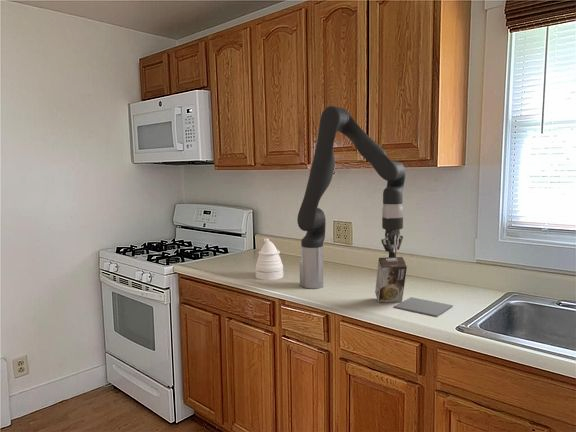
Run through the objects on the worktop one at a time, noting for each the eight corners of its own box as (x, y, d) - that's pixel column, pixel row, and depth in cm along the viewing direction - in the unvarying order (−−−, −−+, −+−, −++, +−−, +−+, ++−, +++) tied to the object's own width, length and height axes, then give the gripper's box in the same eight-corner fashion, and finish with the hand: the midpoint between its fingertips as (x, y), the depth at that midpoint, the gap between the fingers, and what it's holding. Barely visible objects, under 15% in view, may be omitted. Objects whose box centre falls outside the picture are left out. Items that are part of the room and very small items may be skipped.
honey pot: (273, 281, 198) (272, 241, 196) (250, 277, 204) (249, 239, 202) (288, 275, 208) (288, 237, 206) (266, 271, 215) (265, 235, 213)
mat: (393, 307, 159) (393, 306, 159) (410, 298, 169) (411, 297, 169) (437, 316, 148) (437, 315, 148) (452, 306, 159) (452, 305, 159)
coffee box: (397, 291, 170) (403, 256, 163) (402, 302, 165) (407, 266, 157) (374, 291, 170) (378, 256, 162) (378, 302, 164) (382, 267, 157)
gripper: (391, 213, 171) (391, 258, 173) (374, 217, 161) (374, 264, 163) (410, 214, 166) (409, 260, 168) (393, 218, 156) (393, 266, 158)
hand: (392, 262), depth 165 cm, fingers closed
